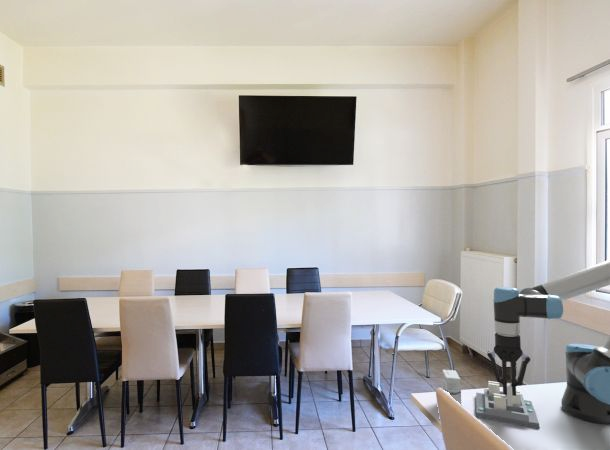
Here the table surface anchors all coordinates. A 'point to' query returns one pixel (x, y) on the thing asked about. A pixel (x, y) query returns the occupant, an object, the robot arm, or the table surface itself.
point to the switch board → (511, 414)
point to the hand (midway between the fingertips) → (509, 404)
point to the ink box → (452, 384)
